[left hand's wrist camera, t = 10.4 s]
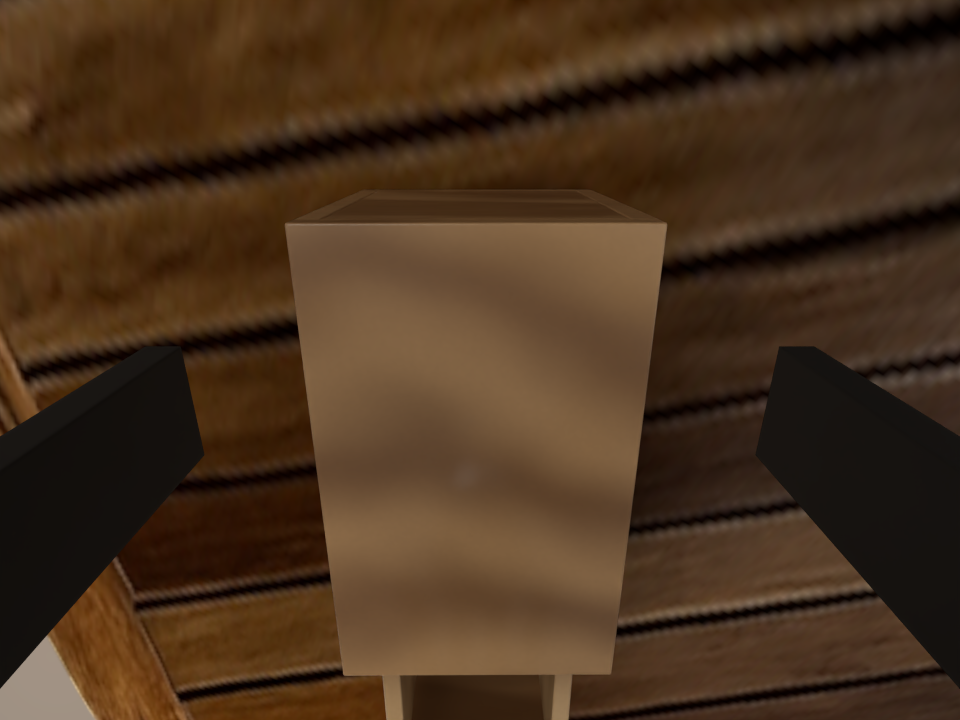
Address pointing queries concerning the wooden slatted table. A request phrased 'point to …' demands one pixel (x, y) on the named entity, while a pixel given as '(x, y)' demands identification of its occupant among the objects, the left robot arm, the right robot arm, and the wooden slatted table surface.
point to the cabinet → (476, 421)
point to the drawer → (477, 697)
